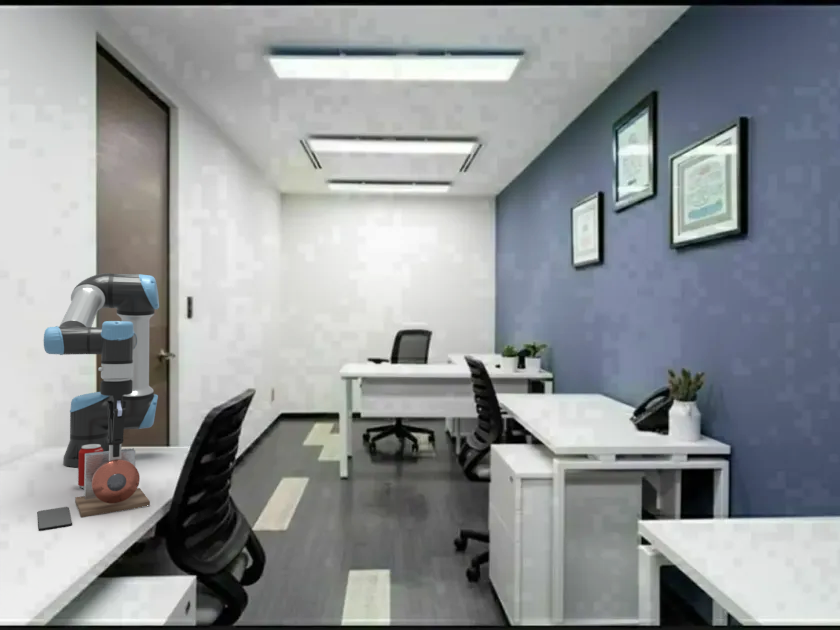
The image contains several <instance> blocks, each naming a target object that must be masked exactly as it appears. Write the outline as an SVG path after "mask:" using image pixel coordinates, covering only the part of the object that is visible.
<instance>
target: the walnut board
mask: <svg viewBox="0 0 840 630" xmlns="http://www.w3.org/2000/svg"><path fill="white" fill-rule="evenodd" d="M74 498H75V501H74V502H75V505H76V507H77V508H76V509H77V510H78V513H79V517H80V518H85V517H92V516H97V515H98V516H99V515H103V514H110V512H111V513H116V511H117V512H121V511H122V510H123V511H129V510H134V508H135V509H139V508H138V507H141V508H143V507H142V506H147V505H150V506H151V501H150V500H149V499H148V497H147V495H146V494H145V493H144V492H143V490H142V489H141V487H138V488H137V489H136V491H135V492H134V493H133V495H132V496H130V497H129V498H128V499H126V500H124V501H122V502H119V503H106V502H103V501H101V500H99V499H98V498H93V499H87V500H85V498H84V495H83V496H76V497H74ZM147 507H148V506H147ZM128 509H129V510H128Z"/></svg>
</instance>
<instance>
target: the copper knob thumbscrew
mask: <svg viewBox="0 0 840 630" xmlns="http://www.w3.org/2000/svg"><path fill="white" fill-rule="evenodd" d="M140 479H141V478H140V473H139V471H138V469H137V467H136V465H135V466H134V465H133V464H132V463H131V462H129V461H127V460H123V459H115V460H111V461H108V462H106V463H104V464H103V465H101V466H100V467H99V468H98V469H97V470H96V472H95V473H94V475H93V478H92V489H93V492H94V494H95V495H96V497H97V498H98V499H99V500H101V501H103V502H106V503H119V502H122V501H124V500H126V499H128V498H129V497H130V496H132V495H133V493H134V492H135V491H136V489H137V488H139V485H140Z"/></svg>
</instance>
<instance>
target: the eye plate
mask: <svg viewBox="0 0 840 630" xmlns="http://www.w3.org/2000/svg"><path fill="white" fill-rule="evenodd" d="M121 459H123V460H127V461H129V462H131V463H132V464H133V465H134V466H135V467H136V450H135V448H134V447H133V448H125V449H124V448H123V449H122V448H121ZM108 461H109V451H103V452H94V453H85V474H84V489H83V490H84V491H83V496H84V498H85V500H87V499H93V498H97V497H96V495H95V494H94V492H93V489H92V478H93V475H94V473H95V472H96V470H97V469H98V468H99V467H100V466H101V465H103V464H104V463H106V462H108Z"/></svg>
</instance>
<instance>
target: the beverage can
mask: <svg viewBox="0 0 840 630" xmlns="http://www.w3.org/2000/svg"><path fill="white" fill-rule="evenodd" d="M94 452H103V449H102V448H101V445H100V444H89V445H84V446H82V447H81V450H80V451H79V464H78V467H77V468H78V469H77V471H78V473H77V475H78V476H77V479H78V480H77V485H78V486H79V487H80V488H81V489H82V488H83V490H84V474H85V453H94Z"/></svg>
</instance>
